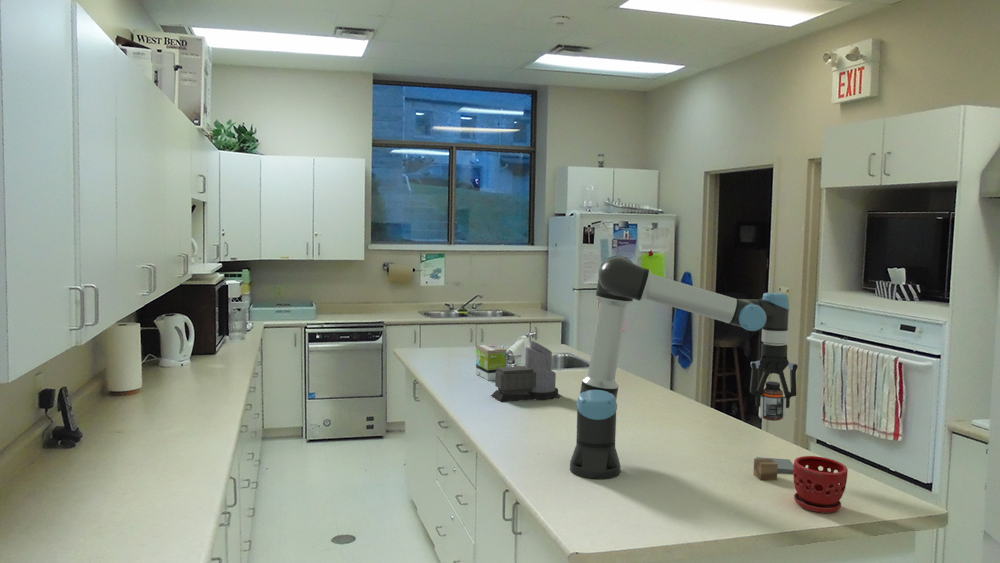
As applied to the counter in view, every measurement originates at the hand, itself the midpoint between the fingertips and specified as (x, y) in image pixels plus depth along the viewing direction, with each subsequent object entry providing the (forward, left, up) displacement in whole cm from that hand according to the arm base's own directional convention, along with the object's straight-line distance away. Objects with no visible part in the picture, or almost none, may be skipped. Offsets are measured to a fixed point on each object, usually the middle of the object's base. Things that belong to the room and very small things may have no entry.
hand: (772, 417), depth 224 cm
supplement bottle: (0, 0, -1) cm, 1 cm away
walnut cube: (-10, +3, -16) cm, 19 cm away
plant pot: (-31, -7, -16) cm, 36 cm away
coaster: (0, -2, -16) cm, 16 cm away
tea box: (+108, +110, -16) cm, 155 cm away
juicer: (+73, +87, -16) cm, 114 cm away
